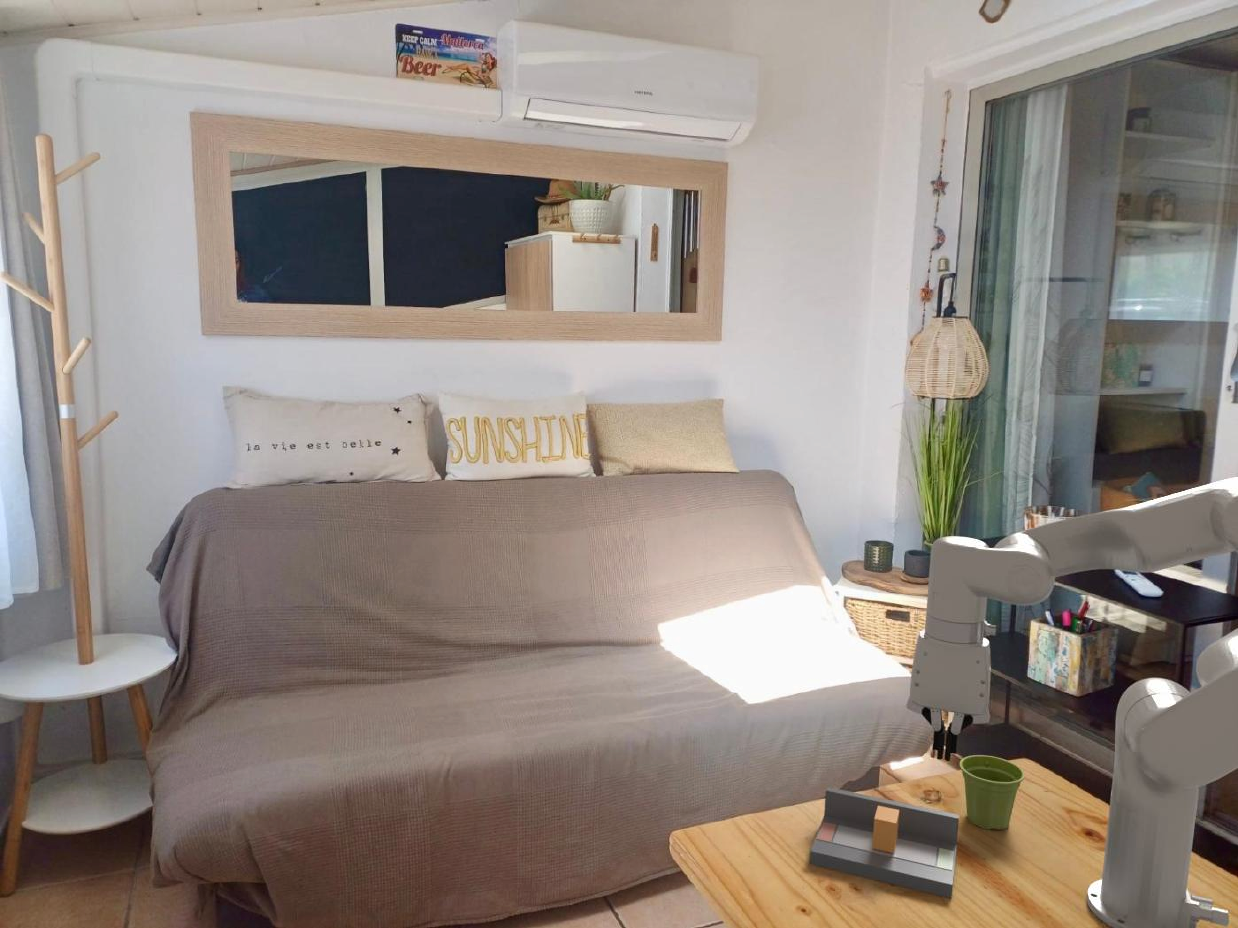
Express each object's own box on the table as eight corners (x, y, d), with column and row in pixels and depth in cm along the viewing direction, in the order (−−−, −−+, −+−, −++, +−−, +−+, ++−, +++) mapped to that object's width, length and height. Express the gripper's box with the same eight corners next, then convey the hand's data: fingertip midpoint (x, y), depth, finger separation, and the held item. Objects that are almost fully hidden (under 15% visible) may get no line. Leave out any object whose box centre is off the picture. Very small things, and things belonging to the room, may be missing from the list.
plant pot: (944, 818, 144) (948, 766, 142) (972, 799, 150) (977, 748, 149) (1002, 843, 137) (1007, 789, 136) (1030, 822, 143) (1035, 769, 142)
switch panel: (956, 852, 134) (959, 814, 133) (951, 898, 123) (954, 856, 122) (824, 823, 141) (827, 786, 140) (809, 863, 130) (811, 824, 129)
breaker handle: (897, 839, 133) (899, 809, 132) (894, 853, 129) (896, 823, 129) (875, 834, 134) (878, 805, 134) (872, 847, 130) (874, 818, 130)
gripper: (1014, 628, 125) (1002, 756, 128) (899, 613, 131) (891, 735, 133) (1014, 645, 118) (1002, 779, 121) (893, 628, 124) (884, 756, 126)
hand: (944, 755), depth 127 cm, fingers closed
